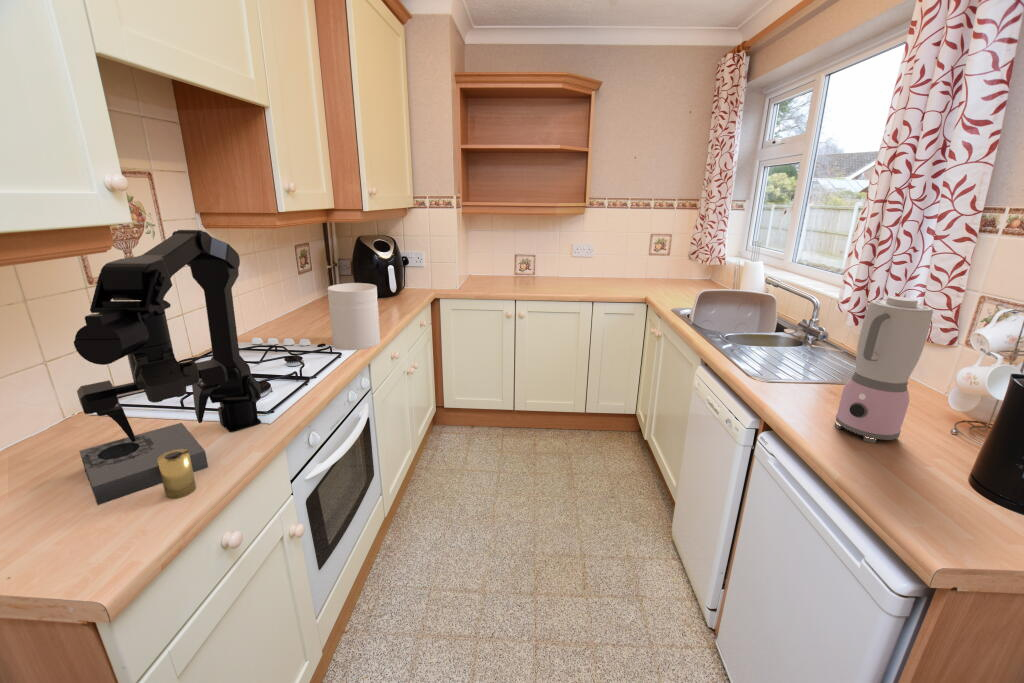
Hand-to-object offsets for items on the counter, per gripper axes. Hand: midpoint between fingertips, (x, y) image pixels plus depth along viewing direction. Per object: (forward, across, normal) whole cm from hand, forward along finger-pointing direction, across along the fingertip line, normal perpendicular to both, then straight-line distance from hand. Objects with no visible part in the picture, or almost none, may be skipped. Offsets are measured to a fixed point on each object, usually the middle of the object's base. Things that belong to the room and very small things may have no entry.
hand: (168, 431), depth 77 cm
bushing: (+12, 0, 0) cm, 12 cm away
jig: (+12, -3, +13) cm, 18 cm away
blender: (+12, +115, -84) cm, 143 cm away
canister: (+12, +66, +57) cm, 87 cm away
